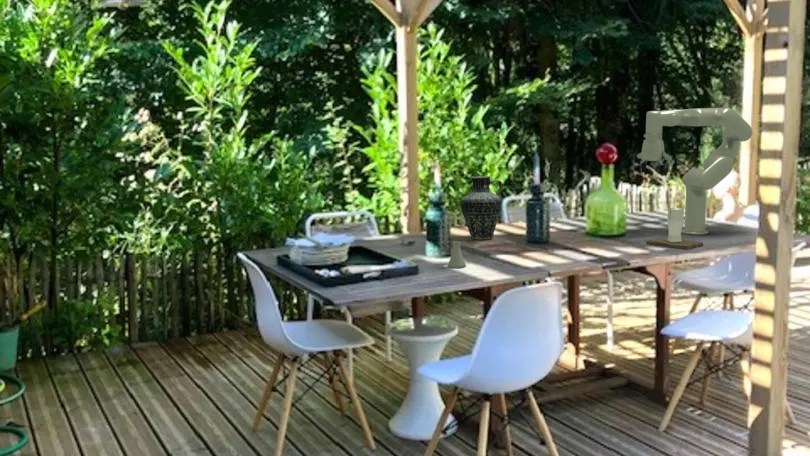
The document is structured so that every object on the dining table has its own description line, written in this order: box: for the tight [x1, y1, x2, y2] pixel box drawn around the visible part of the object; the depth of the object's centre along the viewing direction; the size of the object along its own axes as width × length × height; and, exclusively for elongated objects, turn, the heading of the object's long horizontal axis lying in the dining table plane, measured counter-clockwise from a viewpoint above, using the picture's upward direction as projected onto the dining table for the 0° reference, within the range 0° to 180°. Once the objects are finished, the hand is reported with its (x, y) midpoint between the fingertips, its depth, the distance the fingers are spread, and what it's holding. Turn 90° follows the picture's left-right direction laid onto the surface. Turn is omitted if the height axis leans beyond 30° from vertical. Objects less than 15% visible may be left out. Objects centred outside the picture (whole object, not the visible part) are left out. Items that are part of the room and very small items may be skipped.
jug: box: [459, 175, 504, 240], centre depth 392 cm, size 21×19×30 cm
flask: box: [447, 241, 467, 269], centre depth 326 cm, size 7×7×10 cm
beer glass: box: [667, 207, 685, 243], centre depth 370 cm, size 7×7×15 cm
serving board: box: [645, 237, 704, 251], centre depth 371 cm, size 14×20×2 cm
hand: (652, 172), depth 396 cm, fingers open, 9 cm apart
